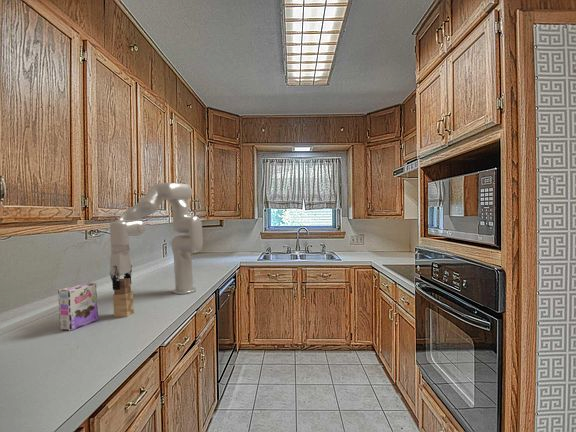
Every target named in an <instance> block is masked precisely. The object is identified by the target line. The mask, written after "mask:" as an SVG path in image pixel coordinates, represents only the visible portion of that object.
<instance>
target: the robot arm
mask: <svg viewBox="0 0 576 432" xmlns="http://www.w3.org/2000/svg"><path fill="white" fill-rule="evenodd" d="M192 196H193V189H192V187H191V185H189V184H187V183H180V182H179V183H178V182H160V183H159V182H158V183H154V184H153V185H152V186H151V187H150V188H149V189H148V191H147V192H146V193H145V195H144V196H143V197H142V199H141V200H140V201H139V202H137V203H136V204H134V205H132V206H131V207H130V208H128V209H126V210H125V211H123V213H122V214H121V215H120V216H119V218H118V219H117V220H116V221H111V222H110V224H109V238H110V239H109V241H110V257H109V263H110V264H109V276H110V279H111V283H112V290H113V291H114V290H120V280H119V279H121V278H120V277H121V276H123V275H124V276H123V279H127V278H130V285H132V270H133V269H132V268H133V265H132V263H131V257H130V250H131V249H130V237H139V236H141V235H144V233H145V231H146V229H147V228H146V224H145V222H143V221H141V220H139V219H142V218H145V217H149V216H151V215H153V214H155V213H156V211H157V210H158V208H159V207H160V206H161V205H162V203H163V202H164V201H167V202H168V203H169V204H170V206H171V211H172V227H173V230H174V232H176V233H181V234H179V235H175V236H174V237H173V238H172V239H171V244H170V245H171V249H172V255H173V262H174V263H173V265H174V266H173V267H174V284H175V288H174V289H173V290H172V294H176V295H185V294H191V293H194V292H196V291H197V288H196V287H194V280H193V277H194V276H193V261H192V256H191V254H190V253H194V254H195V253H199V252H200V251H202V249H203V246H204V241H203V240H204V238H203V223H202V220H201V219H200V217H199V216H197V215H189V207H188V204H187V202H186V201H187V200H189V199H191V198H192ZM182 233H184V234H182ZM185 233H186V234H185ZM187 233H188V234H187Z"/></svg>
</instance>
